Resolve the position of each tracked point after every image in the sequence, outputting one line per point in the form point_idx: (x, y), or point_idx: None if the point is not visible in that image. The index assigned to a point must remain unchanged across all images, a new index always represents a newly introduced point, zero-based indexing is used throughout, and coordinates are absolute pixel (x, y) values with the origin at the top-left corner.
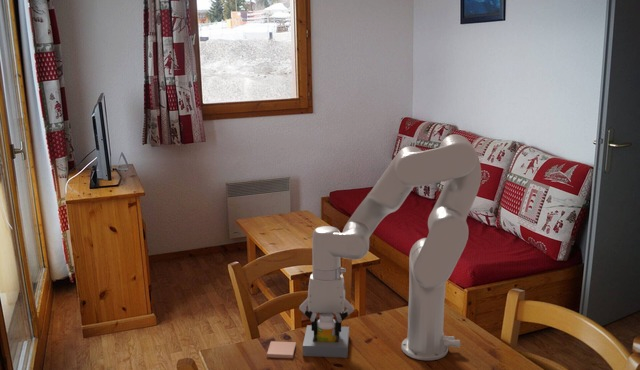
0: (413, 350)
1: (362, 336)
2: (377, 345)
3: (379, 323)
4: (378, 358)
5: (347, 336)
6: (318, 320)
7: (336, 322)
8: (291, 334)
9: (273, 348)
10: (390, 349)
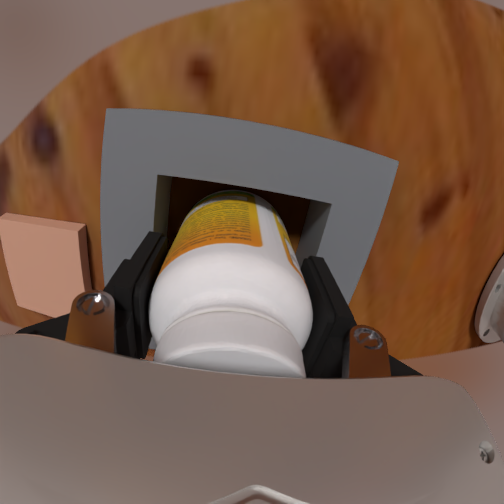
0: (492, 323)
1: (426, 166)
2: (445, 253)
3: (496, 77)
4: (406, 334)
5: (355, 280)
6: (155, 320)
7: (309, 370)
8: (60, 111)
9: (19, 274)
10: (463, 282)
